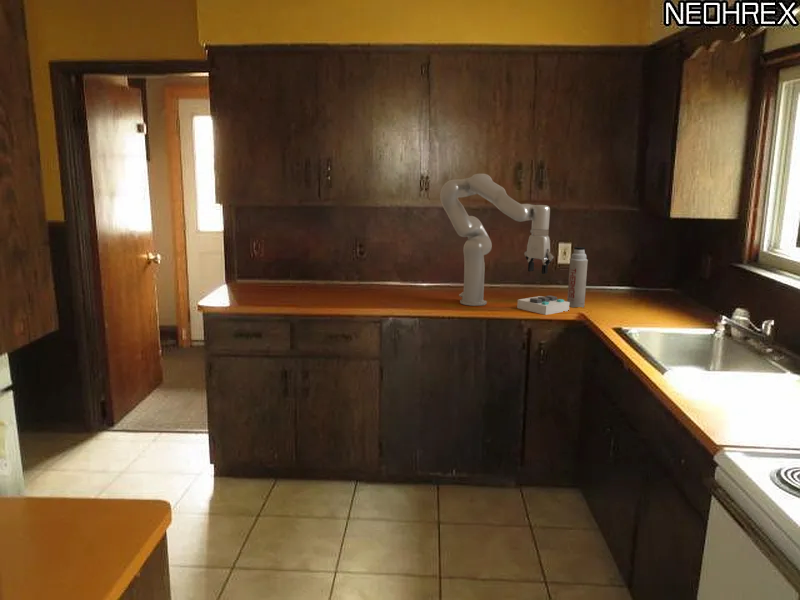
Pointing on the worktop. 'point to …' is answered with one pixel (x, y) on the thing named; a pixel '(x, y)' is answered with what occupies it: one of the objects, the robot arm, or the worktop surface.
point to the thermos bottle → (577, 278)
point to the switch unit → (543, 306)
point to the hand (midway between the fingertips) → (537, 272)
